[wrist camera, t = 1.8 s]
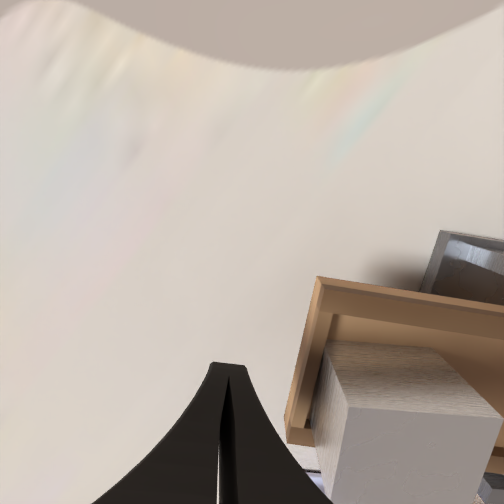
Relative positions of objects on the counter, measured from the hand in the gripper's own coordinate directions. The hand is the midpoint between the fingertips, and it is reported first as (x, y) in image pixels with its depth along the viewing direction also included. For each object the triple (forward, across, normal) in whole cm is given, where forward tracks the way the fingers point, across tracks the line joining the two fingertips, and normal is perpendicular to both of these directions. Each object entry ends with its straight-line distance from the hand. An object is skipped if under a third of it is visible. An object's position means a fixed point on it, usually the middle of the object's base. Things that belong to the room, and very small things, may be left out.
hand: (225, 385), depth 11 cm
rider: (+2, -7, +1) cm, 7 cm away
